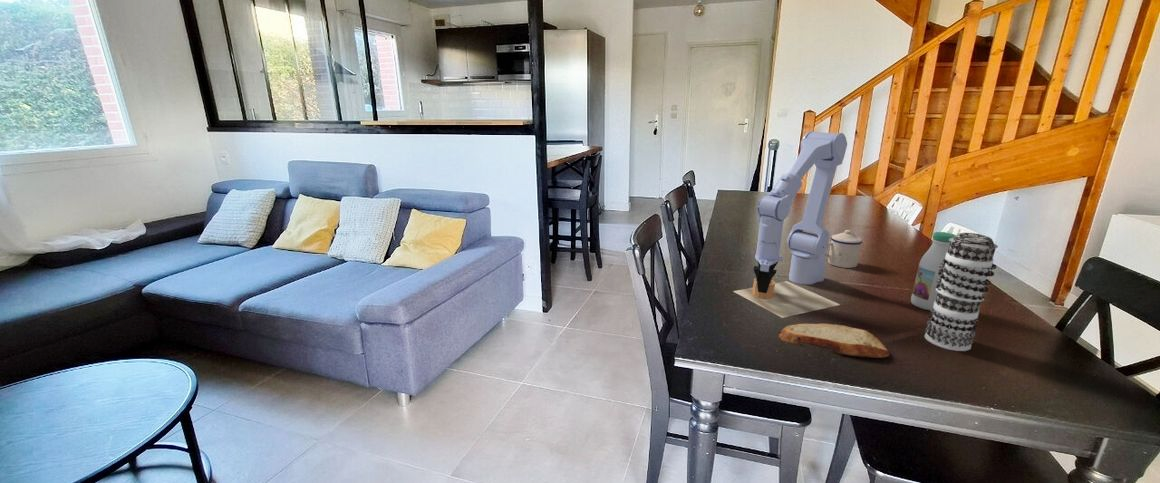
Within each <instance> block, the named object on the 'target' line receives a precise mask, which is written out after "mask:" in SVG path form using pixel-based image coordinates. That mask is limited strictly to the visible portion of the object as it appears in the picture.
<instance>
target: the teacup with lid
mask: <svg viewBox="0 0 1160 483" xmlns="http://www.w3.org/2000/svg"><path fill="white" fill-rule="evenodd" d="M830 240H831V241H829V252H828V253H827V254H826V253H825V254H824V255H823V256H824V257H826V258H828V259H827V262H828V264H830V265H832V266H834V267H838V268H844V269H853V268H856V267H857V266H858V265H859V264H858V262H859V257H860V252H861V248H862V243H863V240H862V238H861V237H859V236H858V235H855V234H853V233H852V231H851V230H849V229H845V230H844V232H840V233H836V234H832V235H831V237H830Z"/></svg>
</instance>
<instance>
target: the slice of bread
mask: <svg viewBox="0 0 1160 483" xmlns="http://www.w3.org/2000/svg"><path fill="white" fill-rule="evenodd" d="M778 337H779V338H780V340H781V341H783V342H785V343H790V344H793V345H796V346H799V347H805V348H806V346H805V345H804V344H802V343H805V344H809V345H815V346H818V347H821V348H822V347H823V348H827V349H830V351H829V353H830V354H831V353H832V354H837V355H845V356H847V357H848V356H849V357H859V358H871V359H885V358H888V357H890V355H891V353H890V351H889V349H888V348H886V346H885V344H883V343H882V342H881V340H880V339H879V338H878V337H877V336H875V335H874V334H872V333H871V332H869V331H868V330H866V329H862V328H857V327H856V328H855V327H851V326H848V325H842V324H841V325H840V324H832V323H796V324H790V325H786V326H784V327H783V328H782V330H781V332H779V334H778ZM800 342H801V343H800Z"/></svg>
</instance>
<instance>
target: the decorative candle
mask: <svg viewBox="0 0 1160 483" xmlns="http://www.w3.org/2000/svg"><path fill="white" fill-rule="evenodd" d="M954 235H955V236H954V237H953V238H949V241H950V245H949V249H948V251H947V253H946V257H945V259H946V260H945V259H943V260H942V261H943V262H944V263H941V264H940V266H939V268H940V270H939V272H938V274H939V276H940V278H938V281H937V285H936V286H937V287H935V288H936V291H937V292H938V294H937V298H936V300H935V302H934V306H933V307H932V308H931V310H929V311H930V314H929V315H928V318H929V320H927V322H926V326H927V327H926V328H925V330H924V331H925V334H924V335H923V336H924V339H925V340H926V341H927V342H929V343H930V344H931V345H935V346H937V347H940V348H942V349H945V350H949V351H955V352H966V351H970V350H971V349H972V344H974V338H975V336H976V332H974V331H976V330H977V328H978V325H977V324H979V321H980V319H979V314H980V306H981V302H983V301H985V299H986V296H985V295H984V293H986V292H989V290H990V289H989V287H987V286H990V285H991V283H992V281H991V280H990V279H989V278H991V277H993V276H995V272H994V271H992V270H996V269H997V265H996V264H994V261H995V260H994V255H995V252H996V249H998V247H999V246H998V245H997V244H996V243H994V240H993V238H992V237H990V236H987V235H985V234H981V233H974V232H973V233H972V232H960V233H957V234H954ZM944 265H945V267H944ZM942 273H943V274H942ZM988 277H989V278H988Z"/></svg>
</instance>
